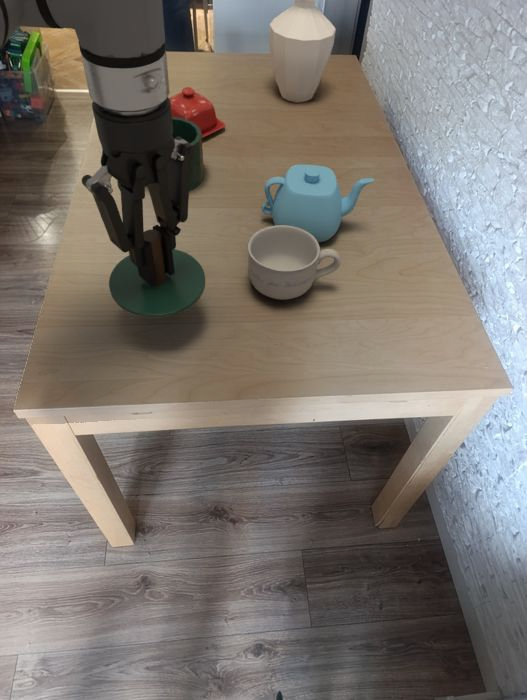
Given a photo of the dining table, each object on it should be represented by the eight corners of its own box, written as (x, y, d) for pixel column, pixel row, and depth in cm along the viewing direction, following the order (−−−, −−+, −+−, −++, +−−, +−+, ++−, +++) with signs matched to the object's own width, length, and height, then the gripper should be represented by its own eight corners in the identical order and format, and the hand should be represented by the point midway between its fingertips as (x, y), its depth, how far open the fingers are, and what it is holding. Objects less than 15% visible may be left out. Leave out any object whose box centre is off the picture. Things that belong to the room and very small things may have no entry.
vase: (327, 110, 114) (347, -21, 95) (265, 106, 114) (272, -26, 94) (324, 81, 123) (342, -45, 103) (266, 77, 123) (273, -49, 103)
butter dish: (229, 130, 107) (228, 89, 100) (188, 150, 102) (184, 109, 95) (193, 109, 112) (190, 69, 105) (152, 127, 106) (146, 86, 99)
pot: (147, 205, 90) (140, 163, 84) (137, 153, 100) (131, 111, 93) (210, 198, 92) (209, 156, 86) (195, 148, 102) (193, 107, 96)
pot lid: (114, 327, 64) (100, 278, 57) (107, 259, 71) (94, 208, 64) (213, 313, 66) (212, 264, 59) (197, 248, 74) (194, 199, 67)
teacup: (238, 301, 77) (239, 262, 71) (255, 255, 84) (258, 216, 77) (327, 320, 76) (336, 282, 69) (338, 272, 82) (346, 233, 76)
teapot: (377, 199, 77) (261, 189, 77) (363, 252, 86) (258, 243, 86) (372, 154, 85) (266, 145, 85) (360, 206, 93) (263, 198, 93)
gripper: (81, 141, 43) (124, 319, 62) (217, 89, 50) (219, 263, 69) (37, 106, 46) (90, 286, 65) (170, 62, 53) (184, 235, 72)
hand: (156, 274), depth 67 cm, fingers closed on pot lid, 2 cm apart
